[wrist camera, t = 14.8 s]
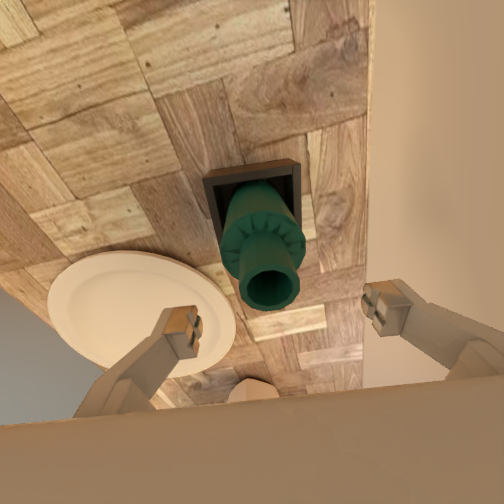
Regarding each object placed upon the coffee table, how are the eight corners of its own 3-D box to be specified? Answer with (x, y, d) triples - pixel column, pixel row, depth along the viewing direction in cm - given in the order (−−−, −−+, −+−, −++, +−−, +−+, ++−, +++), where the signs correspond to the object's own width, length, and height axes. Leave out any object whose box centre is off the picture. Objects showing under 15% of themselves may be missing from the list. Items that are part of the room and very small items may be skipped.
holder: (288, 158, 23) (301, 163, 18) (291, 230, 27) (302, 250, 22) (210, 170, 23) (201, 178, 18) (226, 240, 27) (222, 261, 23)
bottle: (277, 174, 23) (329, 229, 9) (280, 223, 26) (324, 321, 12) (225, 182, 23) (199, 248, 9) (234, 229, 26) (225, 333, 12)
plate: (263, 283, 31) (265, 293, 29) (206, 377, 43) (204, 389, 41) (60, 212, 25) (43, 219, 23) (59, 347, 37) (48, 359, 35)
